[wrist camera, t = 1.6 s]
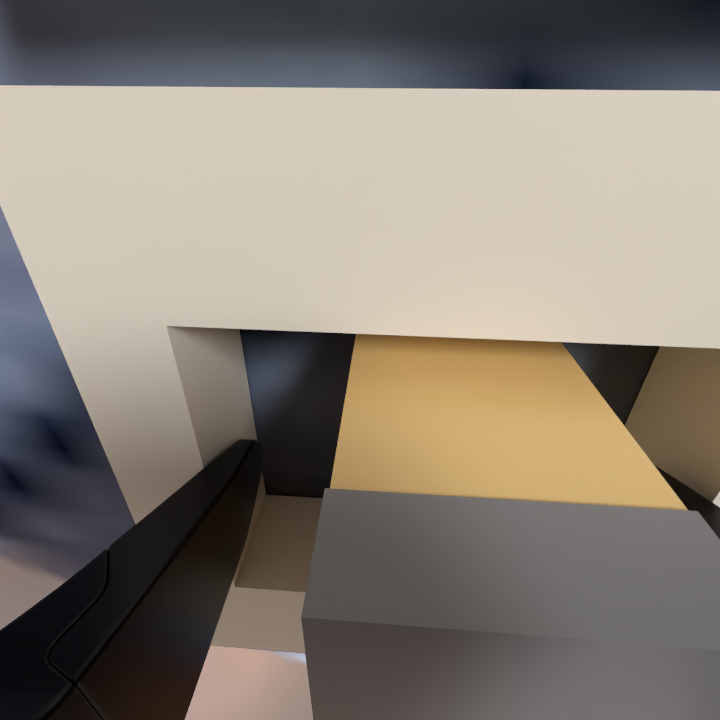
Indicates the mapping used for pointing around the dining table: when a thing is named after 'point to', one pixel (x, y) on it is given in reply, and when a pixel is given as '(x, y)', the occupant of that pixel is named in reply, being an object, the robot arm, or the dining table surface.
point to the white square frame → (356, 261)
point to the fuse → (502, 549)
